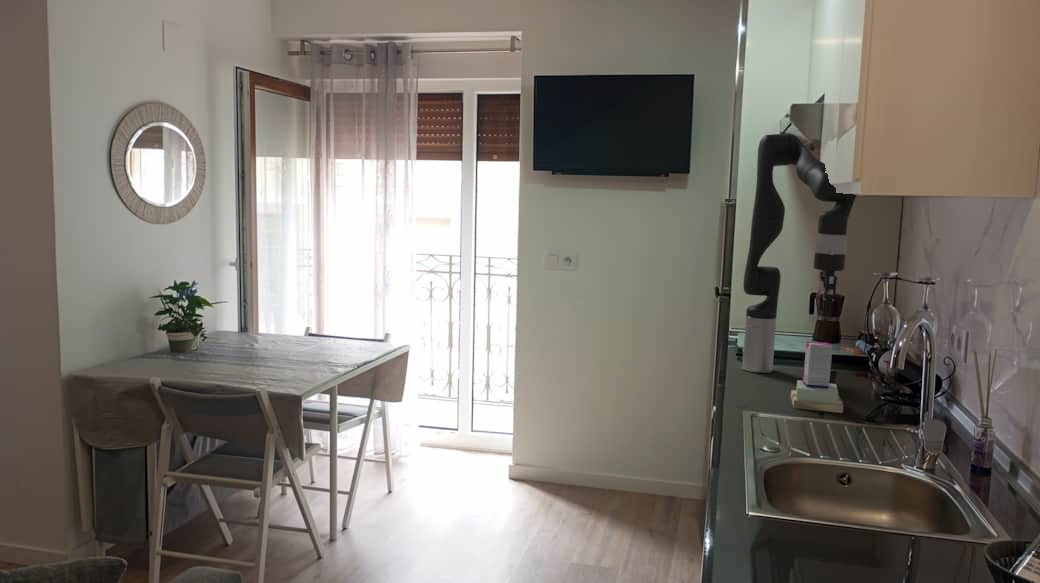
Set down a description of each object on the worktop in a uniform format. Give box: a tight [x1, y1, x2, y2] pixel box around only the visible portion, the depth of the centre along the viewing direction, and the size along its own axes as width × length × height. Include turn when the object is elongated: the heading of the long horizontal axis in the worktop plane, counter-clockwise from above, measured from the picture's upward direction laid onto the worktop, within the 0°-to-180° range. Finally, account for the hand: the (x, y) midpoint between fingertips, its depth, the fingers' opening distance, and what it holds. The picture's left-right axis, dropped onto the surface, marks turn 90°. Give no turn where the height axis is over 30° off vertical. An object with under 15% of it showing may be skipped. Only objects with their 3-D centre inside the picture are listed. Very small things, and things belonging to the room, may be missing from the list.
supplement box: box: [802, 341, 833, 388], centre depth 208 cm, size 6×6×12 cm
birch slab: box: [790, 389, 844, 414], centre depth 208 cm, size 12×12×3 cm
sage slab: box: [795, 379, 839, 404], centre depth 208 cm, size 10×10×3 cm
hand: (825, 313), depth 205 cm, fingers open, 8 cm apart
